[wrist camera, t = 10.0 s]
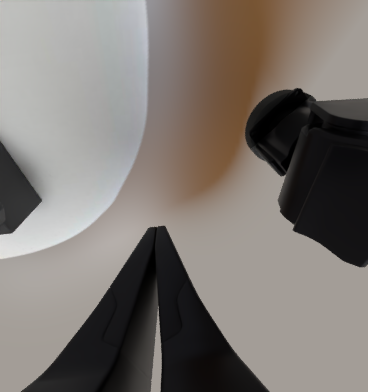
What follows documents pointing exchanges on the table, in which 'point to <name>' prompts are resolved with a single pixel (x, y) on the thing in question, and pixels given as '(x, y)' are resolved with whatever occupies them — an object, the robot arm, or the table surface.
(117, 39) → the table surface
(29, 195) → the orange push button box
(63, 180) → the table surface
